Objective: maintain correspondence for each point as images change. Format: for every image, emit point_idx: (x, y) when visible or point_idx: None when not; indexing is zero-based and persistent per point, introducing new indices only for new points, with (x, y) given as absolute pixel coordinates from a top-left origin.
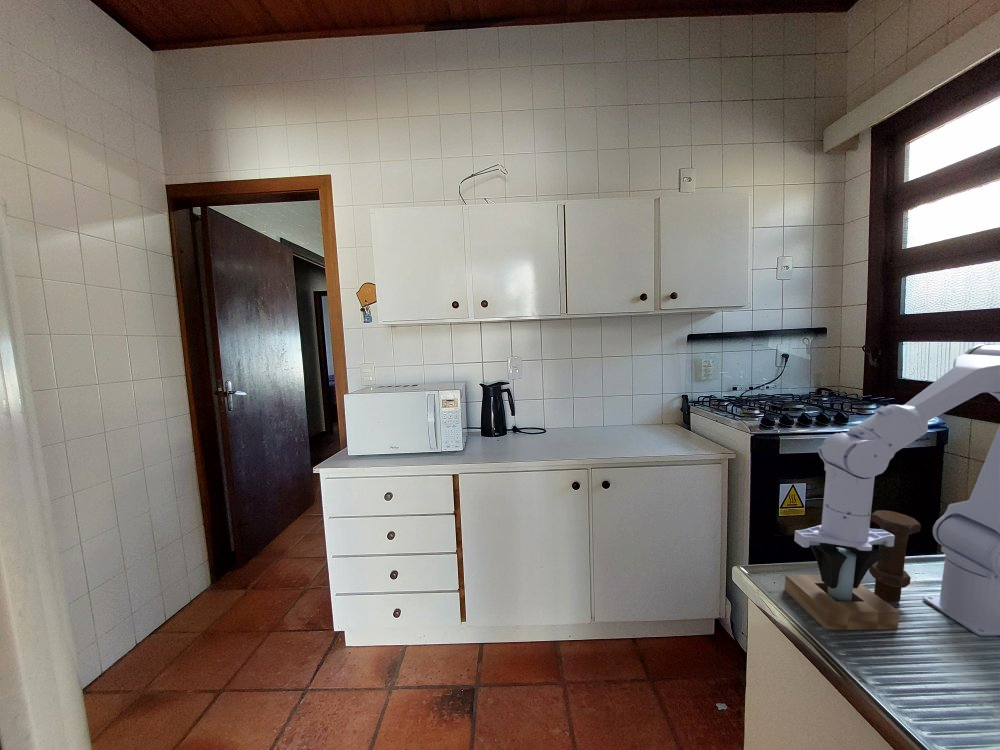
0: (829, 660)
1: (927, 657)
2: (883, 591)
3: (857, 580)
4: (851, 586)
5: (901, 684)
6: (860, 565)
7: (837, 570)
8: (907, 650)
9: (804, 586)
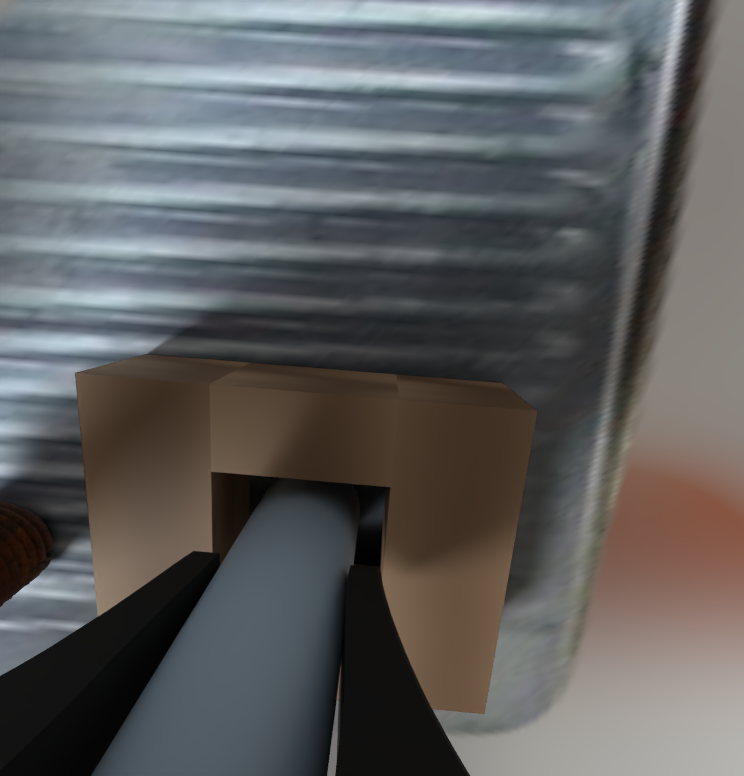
0: (682, 199)
1: (168, 180)
2: (5, 553)
3: (175, 591)
4: (253, 554)
5: (465, 27)
6: (50, 745)
7: (373, 704)
8: (224, 228)
9: (465, 619)
